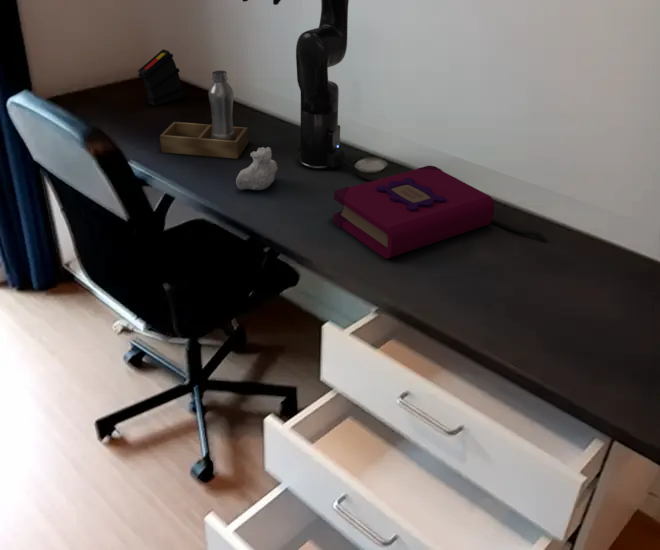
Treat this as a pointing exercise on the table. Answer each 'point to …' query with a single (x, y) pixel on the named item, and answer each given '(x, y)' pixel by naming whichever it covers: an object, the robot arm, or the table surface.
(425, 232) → the book
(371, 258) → the table surface
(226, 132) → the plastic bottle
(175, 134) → the brown open rectangular box
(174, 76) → the magazine
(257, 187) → the bust
